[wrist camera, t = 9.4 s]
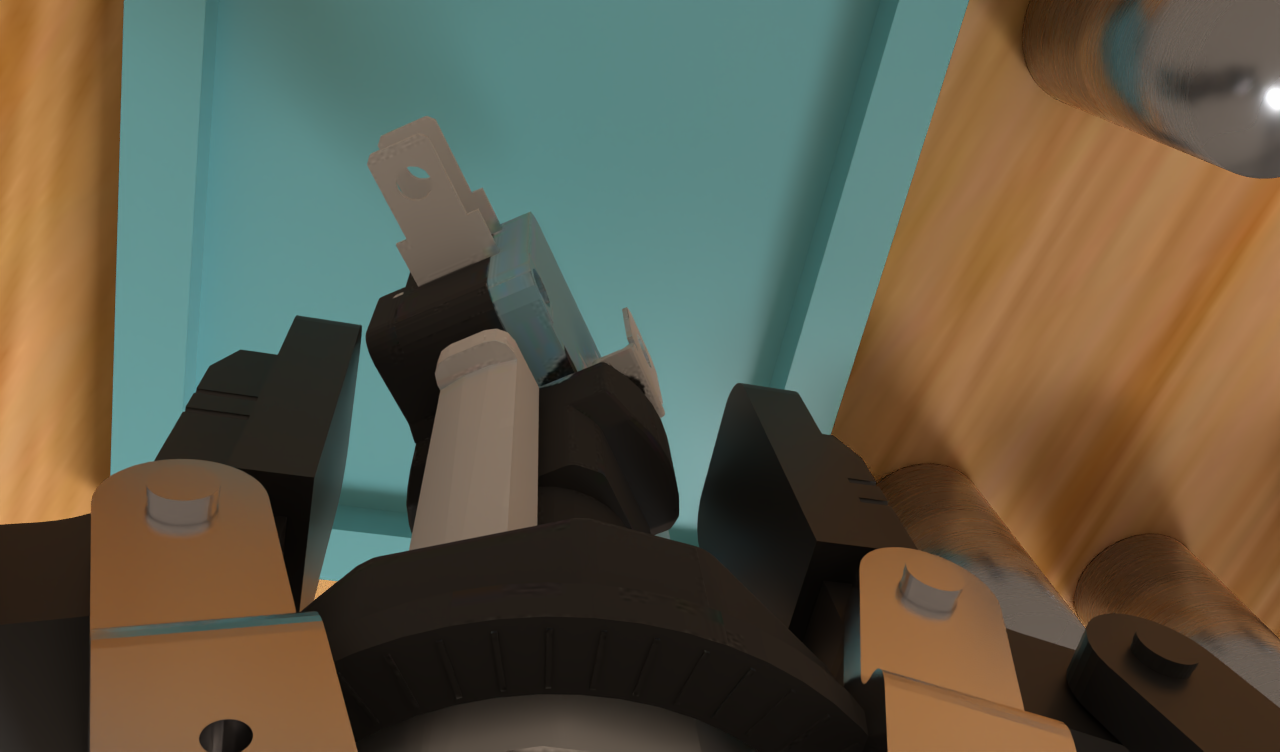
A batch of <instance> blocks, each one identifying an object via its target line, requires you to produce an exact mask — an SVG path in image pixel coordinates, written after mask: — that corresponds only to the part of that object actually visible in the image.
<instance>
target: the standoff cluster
mask: <svg viewBox="0 0 1280 752" xmlns="http://www.w3.org/2000/svg"><path fill="white" fill-rule="evenodd" d="M1023 51H1024V56H1025V60H1026V63H1027V66H1028V69H1029V71H1030V73H1031V75H1032V77H1033V78H1034V80H1035V81H1036V83H1037V84H1038V85H1039V86H1040V87H1041V88H1042V89H1043V90H1044V91H1045V92H1046V93H1047V94H1049V95H1050V96H1052V97H1053V98H1055V99H1057V100H1059V101H1061V102H1063V103H1066V104H1068V105H1071V106H1073V107H1075V108H1078V109H1080V110H1083V111H1085V112H1088V113H1090V114H1092V115H1095V116H1097V117H1100V118H1102V119H1105V120H1107V121H1109V122H1112V123H1114V124H1117V125H1119V126H1122V127H1124V128H1126V129H1129V130H1131V131H1134V132H1136V133H1139V134H1141V135H1143V136H1146V137H1148V138H1151V139H1153V140H1156V141H1158V142H1160V143H1163V144H1165V145H1168V146H1170V147H1173V148H1175V149H1177V150H1180V151H1182V152H1185V153H1187V154H1190V155H1192V156H1194V157H1197V158H1199V159H1202V160H1204V161H1206V162H1209V163H1211V164H1214V165H1216V166H1219V167H1221V168H1223V169H1226V170H1228V171H1231V172H1233V173H1236V174H1239V175H1242V176H1246V177H1251V178H1277V177H1280V0H1031V2H1030V4H1029V6H1028V9H1027V13H1026V17H1025V21H1024V27H1023ZM876 486H879V487H880V489H881V490H882V492H883V494H884V495H885V497H886V498H887V500H888V506H891V507H892V508H893V510H894V511H895V513H896V515H897V516H898V518H899V520H900V521H901V523H902V524H903V526H904V528H905V529H906V531H907V533H908V534H909V536H910V537H911V539H912V541H913V542H914V544H915V546H916V547H917V549H918V550H920V551H924V552H927V553H930V554H933V555H937V556H939V557H942V558H944V559H946V560H949V561H951V562H953V563H955V564H957V565H959V566H961V567H962V568H964V569H966V570H967V571H969V572H970V573H972V574H973V575H975V576H976V577H977V578H979V579H980V580H981V581H982V582H983V583H984V584H985V585H987V586H988V588H989V589H990V590H991V591H992V592H993V593H994V595H995V596H996V598H997V600H998V601H999V604H1000V607H1001V610H1002V614H1003V619H1004V623H1005V628H1008V629H1010V630H1013V631H1016V632H1019V633H1022V634H1025V635H1029V636H1032V637H1035V638H1038V639H1041V640H1045V641H1048V642H1051V643H1054V644H1058V645H1061V646H1064V647H1067V648H1070V649H1074V650H1076V648H1077V646H1078V644H1079V642H1080V639H1081V637H1082V635H1083V633H1084V631H1085V627H1086V626H1087V624H1088V622H1089V621H1090V620H1091V619H1092V618H1094V617H1096V616H1098V615H1102V614H1111V613H1118V614H1127V615H1132V616H1137V617H1141V618H1144V619H1148V620H1151V621H1154V622H1156V623H1159V624H1162V625H1164V626H1166V627H1169V628H1171V629H1173V630H1175V631H1177V632H1179V633H1181V634H1183V635H1185V636H1186V637H1188V638H1190V639H1191V640H1193V641H1195V642H1196V643H1198V644H1199V645H1201V646H1202V647H1204V648H1205V649H1206V650H1208V651H1209V652H1210V653H1212V654H1213V655H1214V656H1215V657H1217V658H1218V659H1219V660H1220V661H1222V662H1223V663H1224V664H1225V665H1227V666H1228V667H1229V668H1230V669H1232V670H1233V671H1234V672H1235V673H1237V674H1238V675H1239V676H1240V677H1242V678H1243V679H1244V680H1246V681H1247V682H1248V683H1249V684H1251V685H1252V686H1253V687H1254V688H1256V689H1257V690H1258V691H1259V692H1261V693H1262V694H1263V695H1264V696H1266V697H1267V698H1268V699H1269V700H1271V701H1272V702H1273V703H1274V704H1276V705H1277V706H1278V707H1279V708H1280V639H1279V638H1278V637H1277V636H1276V635H1275V634H1274V633H1273V632H1272V631H1271V630H1269V629H1268V628H1267V627H1266V626H1265V625H1264V624H1263V623H1262V622H1261V621H1260V620H1259V619H1258V618H1257V617H1256V616H1255V615H1254V614H1253V613H1252V612H1251V611H1250V610H1249V609H1248V608H1247V607H1246V606H1245V605H1244V604H1243V603H1242V602H1241V601H1240V600H1239V599H1238V598H1237V597H1236V596H1235V595H1234V594H1233V593H1232V592H1231V591H1230V590H1229V589H1228V588H1227V587H1226V586H1225V585H1224V584H1223V583H1222V582H1221V581H1220V580H1219V579H1218V578H1217V577H1216V576H1215V575H1214V574H1213V573H1212V572H1211V571H1210V570H1209V569H1208V568H1207V567H1206V566H1205V565H1203V564H1202V563H1201V562H1200V561H1199V560H1198V559H1197V558H1196V557H1195V556H1194V555H1193V554H1192V553H1191V552H1190V551H1189V550H1188V549H1187V548H1186V547H1185V546H1184V545H1183V544H1182V543H1180V542H1179V541H1177V540H1175V539H1174V538H1171V537H1168V536H1164V535H1159V534H1144V535H1138V536H1133V537H1130V538H1127V539H1124V540H1122V541H1119V542H1117V543H1115V544H1113V545H1112V546H1110V547H1109V548H1107V549H1105V550H1104V551H1103V552H1102V553H1100V554H1099V555H1098V556H1097V557H1096V558H1095V559H1094V560H1093V561H1092V562H1091V563H1090V564H1089V565H1088V566H1087V568H1086V569H1085V571H1084V572H1083V574H1082V576H1081V578H1080V580H1079V582H1078V585H1077V588H1076V592H1075V608H1076V612H1077V614H1078V617H1079V619H1080V620H1081V621H1082V623H1083V624H1084V626H1085V627H1084V626H1083V625H1082V623H1081V622H1080V621H1079V619H1078V618H1077V617H1076V616H1075V614H1074V613H1073V612H1072V610H1071V609H1070V608H1069V606H1068V605H1067V604H1066V603H1065V601H1064V600H1063V599H1062V597H1061V596H1060V595H1059V594H1058V592H1057V591H1056V590H1055V588H1054V587H1053V586H1052V585H1051V583H1050V582H1049V581H1048V579H1047V578H1046V577H1045V575H1044V574H1043V573H1042V572H1041V570H1040V569H1039V568H1038V566H1037V565H1036V564H1035V563H1034V561H1033V560H1032V559H1031V557H1030V556H1029V555H1028V554H1027V552H1026V551H1025V550H1024V548H1023V547H1022V546H1021V545H1020V543H1019V542H1018V541H1017V539H1016V538H1015V537H1014V535H1013V534H1012V533H1011V532H1010V530H1009V529H1008V528H1007V526H1006V525H1005V524H1004V523H1003V521H1002V520H1001V519H1000V517H999V516H998V515H997V514H996V512H995V511H994V510H993V508H992V507H991V506H990V504H989V503H988V502H987V501H986V499H985V498H984V497H983V495H982V494H981V493H980V492H979V490H978V489H977V488H976V486H975V485H974V484H973V483H972V481H971V480H970V479H969V478H968V477H967V476H965V475H964V474H963V473H961V472H959V471H958V470H956V469H953V468H951V467H948V466H944V465H939V464H920V465H914V466H910V467H906V468H903V469H901V470H898V471H896V472H894V473H892V474H890V475H888V476H887V477H885V478H884V479H882V480H881V481H880V482H879V483H877V484H876Z"/></svg>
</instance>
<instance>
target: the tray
mask: <svg viewBox="0 0 1280 752" xmlns="http://www.w3.org/2000/svg"><path fill="white" fill-rule="evenodd" d="M968 2H969V0H124V17H123V52H122V87H121V122H120V157H119V192H118V227H117V262H116V297H115V332H114V367H113V402H112V438H111V473H110V476H111V475H113V474H115V473H117V472H119V471H121V470H123V469H126V468H129V467H131V466H134V465H138V464H142V463H146V462H151V461H154V460H155V458H156V456H157V455H158V453H159V451H160V450H161V448H162V446H163V444H164V443H165V441H166V439H167V438H168V436H169V434H170V433H171V431H172V429H173V427H174V426H175V424H176V422H177V421H178V419H179V417H180V415H181V414H182V412H185V408H186V405H187V403H188V402H189V400H190V398H191V397H192V395H193V393H196V388H197V386H198V385H199V383H200V381H201V380H202V378H203V376H204V374H205V373H206V371H207V369H208V368H209V366H210V365H212V364H214V363H216V362H218V361H220V360H222V359H223V358H225V357H227V356H229V355H231V354H233V353H235V352H237V351H238V350H240V349H241V350H248V351H255V352H262V353H269V354H276V355H278V353H279V351H280V349H281V347H282V344H283V342H284V340H285V338H286V336H287V333H288V331H289V329H290V327H291V325H292V322H293V320H294V318H295V316H296V315H299V316H305V317H312V318H319V319H325V320H332V321H338V322H345V323H352V324H358V325H362V337H361V347H360V355H359V363H358V372H357V380H356V388H355V396H354V404H353V412H352V420H351V428H350V436H349V444H348V452H347V459H346V466H345V472H344V478H343V484H342V489H341V494H340V499H339V503H338V507H337V511H336V515H335V519H334V523H333V527H332V530H331V534H330V538H329V542H328V546H327V550H326V554H325V558H324V562H323V566H322V570H321V574H320V578H319V579H323V580H332V581H339V580H340V579H341V578H343V577H344V576H345V575H346V574H347V573H349V572H350V571H351V570H352V569H354V568H355V567H356V566H358V565H359V564H361V563H363V562H365V561H367V560H369V559H372V558H374V557H378V556H383V555H388V554H394V553H399V552H404V551H409V547H410V542H411V537H412V533H411V530H410V527H409V522H408V514H407V507H406V500H407V487H408V480H409V474H410V468H411V464H412V459H413V455H414V450H415V446H416V443H414V440H413V437H412V433H411V430H410V427H409V424H408V422H407V420H406V419H405V417H404V415H403V413H402V412H401V410H400V408H399V407H398V405H397V403H396V401H395V400H394V398H393V396H392V395H391V393H390V391H389V389H388V388H387V386H386V384H385V382H384V381H383V379H382V377H381V376H380V374H379V372H378V370H377V369H376V367H375V365H374V363H373V361H372V359H371V357H370V354H369V352H368V348H367V344H366V337H365V336H366V331H367V329H368V326H369V323H370V321H371V318H372V315H373V313H374V310H375V307H376V305H377V302H378V300H379V298H380V297H382V296H385V295H387V294H389V293H392V292H394V291H397V290H399V289H401V288H404V287H405V286H406V283H407V280H408V277H409V274H410V270H409V269H408V267H407V265H406V263H405V261H404V259H403V257H402V256H401V254H400V252H399V250H398V248H397V246H396V244H397V243H398V242H401V241H403V240H405V239H406V237H405V235H404V234H403V232H402V230H401V228H400V226H399V224H398V222H397V220H396V219H395V217H394V215H393V213H392V211H391V209H390V207H389V205H388V204H387V202H386V200H385V198H384V196H383V194H382V192H381V190H380V189H379V187H378V185H377V183H376V181H375V179H374V177H373V175H372V174H371V172H370V170H369V168H368V166H367V162H368V159H369V156H370V154H371V153H373V152H376V151H378V150H380V149H379V148H378V143H379V140H380V137H381V135H384V134H386V133H388V132H390V131H393V130H395V129H397V128H400V127H402V126H404V125H406V124H409V123H411V122H413V121H416V120H418V119H420V118H422V117H425V116H428V117H431V118H434V119H436V121H437V123H438V125H439V127H440V129H441V131H442V133H443V135H444V137H445V139H446V141H447V143H448V145H449V147H450V149H451V151H452V153H453V155H454V157H455V159H456V161H457V163H458V165H459V167H460V169H461V171H462V173H463V175H464V177H465V179H466V182H467V184H468V186H469V188H470V190H471V192H473V191H475V190H478V189H480V188H483V190H484V192H485V194H486V196H487V198H488V200H489V202H490V204H491V206H492V208H493V210H494V212H495V214H496V216H497V218H498V220H499V222H500V224H502V223H504V222H507V221H509V220H511V219H514V218H516V217H519V216H521V215H523V214H526V213H528V212H530V211H531V212H532V214H533V215H534V216H535V218H536V220H537V222H538V224H539V226H540V228H541V230H542V232H543V234H544V236H545V239H546V241H547V243H548V245H549V247H550V249H551V251H552V253H553V255H554V258H555V260H556V262H557V264H558V266H559V268H560V270H561V272H562V275H563V277H564V279H565V281H566V283H567V285H568V287H569V289H570V291H571V294H572V296H573V298H574V300H575V302H576V304H577V306H578V308H579V311H580V313H581V315H582V317H583V319H584V321H585V323H586V325H587V327H588V330H589V332H590V334H591V336H592V338H593V340H594V342H595V344H596V347H597V349H598V351H599V353H600V355H601V357H603V356H606V355H608V354H611V353H613V352H616V351H618V350H621V349H623V348H625V347H626V346H627V345H629V342H628V340H627V336H626V330H625V324H624V318H623V312H622V309H623V308H626V307H627V308H628V309H629V311H630V312H631V314H632V316H633V319H634V321H635V323H636V325H637V328H638V330H639V332H640V334H641V336H642V339H643V341H644V343H645V345H646V348H647V350H648V352H649V354H650V356H651V359H652V362H653V364H654V367H655V370H656V373H657V377H658V382H659V387H660V391H661V396H662V401H663V404H662V406H663V408H664V411H665V415H664V416H663V417H662V418H660V419H661V421H662V424H663V426H664V429H665V432H666V435H667V438H668V442H669V447H670V452H671V457H672V462H673V467H674V471H675V476H676V482H677V487H678V493H679V517H678V519H677V520H676V522H675V524H674V525H673V526H672V528H671V529H669V530H668V531H669V536H670V539H671V540H675V541H678V542H682V543H686V544H690V545H694V546H697V547H699V544H698V535H697V522H698V510H699V504H700V498H701V494H702V490H703V487H704V483H705V479H706V475H707V472H708V468H709V464H710V461H711V457H712V453H713V450H714V446H715V442H716V439H717V435H718V431H719V428H720V424H721V420H722V417H723V413H724V409H725V406H726V402H727V399H728V397H729V394H730V392H731V390H732V388H733V387H734V386H735V385H736V384H737V383H744V384H751V385H757V386H764V387H771V388H777V389H784V390H790V391H796V392H798V393H799V395H800V396H801V398H802V400H803V402H804V403H805V405H806V407H807V409H808V410H809V412H810V414H811V416H812V417H813V419H814V421H815V423H816V424H817V426H818V428H819V430H820V431H821V433H822V434H827V435H831V432H832V429H833V426H834V423H835V419H836V416H837V413H838V410H839V407H840V404H841V401H842V397H843V394H844V391H845V388H846V385H847V382H848V379H849V375H850V372H851V369H852V366H853V363H854V360H855V357H856V354H857V350H858V347H859V344H860V341H861V338H862V335H863V332H864V328H865V325H866V322H867V319H868V316H869V313H870V310H871V306H872V303H873V300H874V297H875V294H876V291H877V288H878V285H879V281H880V278H881V275H882V272H883V269H884V266H885V263H886V259H887V256H888V253H889V250H890V247H891V244H892V241H893V237H894V234H895V231H896V228H897V225H898V222H899V219H900V216H901V212H902V209H903V206H904V203H905V200H906V197H907V194H908V190H909V187H910V184H911V181H912V178H913V175H914V172H915V168H916V165H917V162H918V159H919V156H920V153H921V150H922V147H923V143H924V140H925V137H926V134H927V131H928V128H929V125H930V121H931V118H932V115H933V112H934V109H935V106H936V103H937V99H938V96H939V93H940V90H941V87H942V84H943V81H944V78H945V74H946V71H947V68H948V65H949V62H950V59H951V56H952V52H953V49H954V46H955V43H956V40H957V37H958V34H959V30H960V27H961V24H962V21H963V18H964V15H965V12H966V8H967V5H968ZM407 169H408V170H409V171H410V172H411V174H412V175H414V176H416V177H418V178H429V177H430V176H429V175H428V174H427V172H426V171H425V170H423V169H421V168H419V167H411V166H409V167H407ZM398 188H399V190H400V191H401V189H400V187H399V186H398ZM401 192H402V191H401Z"/></svg>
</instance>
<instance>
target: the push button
mask: <svg viewBox="0 0 1280 752" xmlns="http://www.w3.org/2000/svg"><path fill="white" fill-rule="evenodd" d="M378 148H379V149H380V150H378V151H376V152H373V153H371V154H370V156H369V159H368V162H367V166H368V168H369V170H370V172H371V174H372V175H373V177H374V179H375V181H376V183H377V185H378V187H379V189H380V190H381V192H382V194H383V196H384V198H385V200H386V202H387V204H388V205H389V207H390V209H391V211H392V213H393V215H394V217H395V219H396V220H397V222H398V224H399V226H400V228H401V230H402V232H403V234H404V235H405V237H406V239H405V240H403V241H401V242H398V243H397V244H396V246H397V248H398V250H399V252H400V254H401V256H402V257H403V259H404V261H405V263H406V265H407V267H408V269H409V270H410V274H409V277H408V280H407V283H406V286H405V287H404V288H401V289H399V290H397V291H394V292H392V293H389V294H387V295H385V296H382V297H380V298H379V300H378V302H377V305H376V307H375V310H374V313H373V315H372V318H371V321H370V323H369V326H368V329H367V331H366V336H365V337H366V344H367V348H368V352H369V354H370V357H371V359H372V361H373V363H374V365H375V367H376V369H377V370H378V372H379V374H380V376H381V377H382V379H383V381H384V382H385V384H386V386H387V388H388V389H389V391H390V393H391V395H392V396H393V398H394V400H395V401H396V403H397V405H398V407H399V408H400V410H401V412H402V413H403V415H404V417H405V419H406V420H407V422H408V424H409V427H410V430H411V433H412V437H413V440H414V443H416V446H415V450H414V455H413V459H412V464H411V468H410V474H409V480H408V487H407V500H406V507H407V514H408V522H409V527H410V530H411V533H412V537H411V542H410V547H409V551H404V552H399V553H394V554H388V555H383V556H378V557H374V558H372V559H369V560H367V561H365V562H363V563H361V564H359V565H358V566H356V567H355V568H354V569H352V570H351V571H350V572H349V573H347V574H346V575H345V576H344V577H343V578H341V579H340V580H339V581H338V582H336V583H335V584H334V585H333V586H331V587H330V588H329V589H328V590H326V591H325V592H324V593H323V594H322V595H320V596H319V597H318V598H317V599H315V600H314V601H313V602H312V603H310V604H309V605H308V606H307V607H306V608H304V609H303V610H302V611H301V612H309V611H316V612H318V614H319V615H320V617H321V619H322V621H323V624H324V628H325V631H326V635H327V639H328V642H329V646H330V650H331V654H332V657H333V661H334V665H335V668H336V672H337V676H338V680H339V683H340V687H341V691H342V695H343V698H344V702H345V706H346V710H347V713H348V717H349V721H350V725H351V728H352V732H353V736H354V740H355V743H356V747H357V751H358V752H862V751H863V749H864V746H865V744H866V741H867V738H868V730H867V724H866V718H865V711H864V710H863V709H862V707H861V706H860V705H859V704H858V703H857V701H856V700H855V699H854V698H853V697H852V696H851V694H850V693H849V692H848V691H847V690H846V689H845V688H844V687H843V686H841V685H840V684H839V683H838V682H837V681H836V680H835V679H834V678H833V676H832V674H831V672H830V671H829V669H828V668H827V667H826V666H825V664H824V663H823V662H822V661H821V660H819V659H818V658H817V657H816V656H815V655H814V654H813V653H812V652H811V651H810V650H809V649H808V648H807V647H806V646H805V645H804V644H803V643H802V642H801V641H800V640H799V639H798V638H797V637H796V636H795V635H794V634H793V633H792V632H791V631H790V630H789V629H788V628H787V627H786V626H785V625H784V624H783V623H782V622H781V621H780V620H779V619H778V618H777V617H776V616H775V615H774V614H772V613H771V612H770V611H769V610H768V609H767V608H766V607H765V606H764V605H763V604H762V603H761V602H760V601H759V600H758V599H757V598H756V597H755V596H754V595H753V594H752V593H751V592H750V591H749V590H748V589H747V588H746V587H745V586H744V585H743V584H742V583H741V582H740V581H739V580H738V579H737V578H736V577H735V576H734V575H733V574H732V573H731V572H730V571H729V570H728V569H727V568H725V567H724V566H723V565H722V564H721V563H720V562H719V561H718V560H717V559H716V558H715V557H714V556H713V555H712V554H710V553H709V552H707V551H706V550H704V549H702V548H699V547H697V546H694V545H690V544H686V543H682V542H678V541H675V540H671V539H670V536H669V531H668V530H669V529H671V528H672V526H673V525H674V524H675V522H676V520H677V519H678V517H679V493H678V487H677V482H676V476H675V471H674V467H673V462H672V457H671V452H670V447H669V442H668V438H667V435H666V432H665V429H664V426H663V424H662V421H661V419H660V418H662V417H663V416H664V415H665V411H664V408H663V406H662V404H663V401H662V396H661V391H660V387H659V382H658V377H657V373H656V370H655V367H654V364H653V362H652V359H651V356H650V354H649V352H648V350H647V348H646V345H645V343H644V341H643V339H642V336H641V334H640V332H639V330H638V328H637V325H636V323H635V321H634V319H633V316H632V314H631V312H630V311H629V309H628V308H627V307H626V308H623V309H622V312H623V318H624V324H625V330H626V336H627V340H628V342H629V345H627V346H626V347H625V348H623V349H621V350H618V351H616V352H613V353H611V354H608V355H606V356H603V357H601V355H600V353H599V351H598V349H597V347H596V344H595V342H594V340H593V338H592V336H591V334H590V332H589V330H588V327H587V325H586V323H585V321H584V319H583V317H582V315H581V313H580V311H579V308H578V306H577V304H576V302H575V300H574V298H573V296H572V294H571V291H570V289H569V287H568V285H567V283H566V281H565V279H564V277H563V275H562V272H561V270H560V268H559V266H558V264H557V262H556V260H555V258H554V255H553V253H552V251H551V249H550V247H549V245H548V243H547V241H546V239H545V236H544V234H543V232H542V230H541V228H540V226H539V224H538V222H537V220H536V218H535V216H534V215H533V214H532V212H531V211H530V212H528V213H526V214H523V215H521V216H519V217H516V218H514V219H511V220H509V221H507V222H504V223H502V224H500V222H499V220H498V218H497V216H496V214H495V212H494V210H493V208H492V206H491V204H490V202H489V200H488V198H487V196H486V194H485V192H484V190H483V188H480V189H478V190H475V191H473V192H471V190H470V188H469V186H468V184H467V182H466V179H465V177H464V175H463V173H462V171H461V169H460V167H459V165H458V163H457V161H456V159H455V157H454V155H453V153H452V151H451V149H450V147H449V145H448V143H447V141H446V139H445V137H444V135H443V133H442V131H441V129H440V127H439V125H438V123H437V121H436V119H434V118H431V117H428V116H425V117H422V118H420V119H418V120H416V121H413V122H411V123H409V124H406V125H404V126H402V127H400V128H397V129H395V130H393V131H390V132H388V133H386V134H384V135H381V137H380V140H379V143H378ZM409 166H411V167H419V168H421V169H423V170H425V171H426V172H427V174H428V175H429V176H430V177H429V178H418V177H416V176H414V175H412V174H411V172H410V171H409V170H408V169H407V167H409ZM398 186H399V187H400V189H401V191H402V192H401V191H400V190H399V188H398Z"/></svg>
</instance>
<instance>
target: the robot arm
mask: <svg viewBox="0 0 1280 752" xmlns="http://www.w3.org/2000/svg"><path fill="white" fill-rule="evenodd" d="M361 337H362V325H358V324H352V323H345V322H338V321H332V320H325V319H319V318H312V317H305V316H299V315H296V316H295V318H294V320H293V322H292V325H291V327H290V329H289V331H288V333H287V336H286V338H285V340H284V342H283V344H282V347H281V349H280V351H279V353H278V355H276V354H269V353H262V352H255V351H248V350H241V349H240V350H238V351H237V352H235V353H233V354H231V355H229V356H227V357H225V358H223V359H222V360H220V361H218V362H216V363H214V364H212V365H210V366H209V368H208V369H207V371H206V373H205V374H204V376H203V378H202V380H201V381H200V383H199V385H198V386H197V388H196V393H193V395H192V397H191V398H190V400H189V402H188V403H187V405H186V408H185V412H182V414H181V415H180V417H179V419H178V421H177V422H176V424H175V426H174V427H173V429H172V431H171V433H170V434H169V436H168V438H167V439H166V441H165V443H164V444H163V446H162V448H161V450H160V451H159V453H158V455H157V456H156V458H155V460H154V461H151V462H146V463H142V464H138V465H134V466H131V467H129V468H126V469H123V470H121V471H119V472H117V473H115V474H113V475H111V476H110V477H108V478H107V479H105V480H104V481H103V482H102V483H101V484H100V485H99V486H98V487H97V488H96V490H95V492H94V494H93V496H92V501H91V513H90V514H86V515H82V516H78V517H74V518H69V519H63V520H57V521H48V522H37V523H21V524H5V525H0V752H358V751H357V747H356V743H355V740H354V736H353V732H352V728H351V725H350V721H349V717H348V713H347V710H346V706H345V702H344V698H343V695H342V691H341V687H340V683H339V680H338V676H337V672H336V668H335V665H334V661H333V657H332V654H331V650H330V646H329V642H328V639H327V635H326V631H325V628H324V624H323V621H322V619H321V617H320V615H319V614H318V612H316V611H309V612H301V611H302V610H303V609H304V608H306V607H307V606H308V605H309V604H310V603H312V602H313V601H314V597H315V594H316V590H317V586H318V582H319V578H320V574H321V570H322V566H323V562H324V558H325V554H326V550H327V546H328V542H329V538H330V534H331V530H332V527H333V523H334V519H335V515H336V511H337V507H338V503H339V499H340V494H341V489H342V484H343V478H344V472H345V466H346V459H347V452H348V444H349V436H350V428H351V420H352V412H353V404H354V396H355V388H356V380H357V372H358V363H359V355H360V347H361ZM697 535H698V544H699V548H702V549H704V550H706V551H707V552H709V553H710V554H712V555H713V556H714V557H715V558H716V559H717V560H718V561H719V562H720V563H721V564H722V565H723V566H724V567H725V568H727V569H728V570H729V571H730V572H731V573H732V574H733V575H734V576H735V577H736V578H737V579H738V580H739V581H740V582H741V583H742V584H743V585H744V586H745V587H746V588H747V589H748V590H749V591H750V592H751V593H752V594H753V595H754V596H755V597H756V598H757V599H758V600H759V601H760V602H761V603H762V604H763V605H764V606H765V607H766V608H767V609H768V610H769V611H770V612H771V613H772V614H774V615H775V616H776V617H777V618H778V619H779V620H780V621H781V622H782V623H783V624H784V625H785V626H786V627H787V628H788V629H789V630H790V631H791V632H792V633H793V634H794V635H795V636H796V637H797V638H798V639H799V640H800V641H801V642H802V643H803V644H804V645H805V646H806V647H807V648H808V649H809V650H810V651H811V652H812V653H813V654H814V655H815V656H816V657H817V658H818V659H819V660H821V661H822V662H823V663H824V664H825V666H826V667H827V668H828V669H829V671H830V672H831V674H832V676H833V678H834V679H835V680H836V681H837V682H838V683H839V684H840V685H841V686H843V687H844V688H845V689H846V690H847V691H848V692H849V693H850V694H851V696H852V697H853V698H854V699H855V700H856V701H857V703H858V704H859V705H860V706H861V707H862V709H863V710H864V711H865V718H866V724H867V730H868V738H867V741H866V744H865V746H864V749H863V751H862V752H1280V708H1279V707H1278V706H1277V705H1276V704H1274V703H1273V702H1272V701H1271V700H1269V699H1268V698H1267V697H1266V696H1264V695H1263V694H1262V693H1261V692H1259V691H1258V690H1257V689H1256V688H1254V687H1253V686H1252V685H1251V684H1249V683H1248V682H1247V681H1246V680H1244V679H1243V678H1242V677H1240V676H1239V675H1238V674H1237V673H1235V672H1234V671H1233V670H1232V669H1230V668H1229V667H1228V666H1227V665H1225V664H1224V663H1223V662H1222V661H1220V660H1219V659H1218V658H1217V657H1215V656H1214V655H1213V654H1212V653H1210V652H1209V651H1208V650H1206V649H1205V648H1204V647H1202V646H1201V645H1199V644H1198V643H1196V642H1195V641H1193V640H1191V639H1190V638H1188V637H1186V636H1185V635H1183V634H1181V633H1179V632H1177V631H1175V630H1173V629H1171V628H1169V627H1166V626H1164V625H1162V624H1159V623H1156V622H1154V621H1151V620H1148V619H1144V618H1141V617H1137V616H1132V615H1127V614H1118V613H1111V614H1102V615H1098V616H1096V617H1094V618H1092V619H1091V620H1090V621H1089V622H1088V624H1087V626H1086V628H1085V631H1084V633H1083V635H1082V637H1081V639H1080V642H1079V644H1078V646H1077V648H1076V650H1074V649H1070V648H1067V647H1064V646H1061V645H1058V644H1054V643H1051V642H1048V641H1045V640H1041V639H1038V638H1035V637H1032V636H1029V635H1025V634H1022V633H1019V632H1016V631H1013V630H1010V629H1008V628H1005V623H1004V619H1003V614H1002V610H1001V607H1000V604H999V601H998V600H997V598H996V596H995V595H994V593H993V592H992V591H991V590H990V589H989V588H988V586H987V585H985V584H984V583H983V582H982V581H981V580H980V579H979V578H977V577H976V576H975V575H973V574H972V573H970V572H969V571H967V570H966V569H964V568H962V567H961V566H959V565H957V564H955V563H953V562H951V561H949V560H946V559H944V558H942V557H939V556H937V555H933V554H930V553H927V552H924V551H920V550H918V549H917V547H916V546H915V544H914V542H913V541H912V539H911V537H910V536H909V534H908V533H907V531H906V529H905V528H904V526H903V524H902V523H901V521H900V520H899V518H898V516H897V515H896V513H895V511H894V510H893V508H892V507H891V506H888V500H887V498H886V497H885V495H884V494H883V492H882V490H881V489H880V487H879V486H876V481H875V479H874V477H873V476H872V474H871V473H870V471H869V469H868V468H867V466H866V464H865V463H864V461H863V460H862V458H861V457H859V456H858V455H857V454H856V453H854V452H853V451H852V450H851V449H849V448H848V447H847V446H846V445H844V444H843V443H842V442H841V441H839V440H838V439H837V438H836V437H834V436H833V435H827V434H822V433H821V431H820V430H819V428H818V426H817V424H816V423H815V421H814V419H813V417H812V416H811V414H810V412H809V410H808V409H807V407H806V405H805V403H804V402H803V400H802V398H801V396H800V395H799V393H798V392H796V391H790V390H784V389H777V388H771V387H764V386H757V385H751V384H744V383H737V384H736V385H735V386H734V387H733V388H732V390H731V392H730V394H729V397H728V399H727V402H726V406H725V409H724V413H723V417H722V420H721V424H720V428H719V431H718V435H717V439H716V442H715V446H714V450H713V453H712V457H711V461H710V464H709V468H708V472H707V475H706V479H705V483H704V487H703V490H702V494H701V498H700V504H699V510H698V522H697Z"/></svg>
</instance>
